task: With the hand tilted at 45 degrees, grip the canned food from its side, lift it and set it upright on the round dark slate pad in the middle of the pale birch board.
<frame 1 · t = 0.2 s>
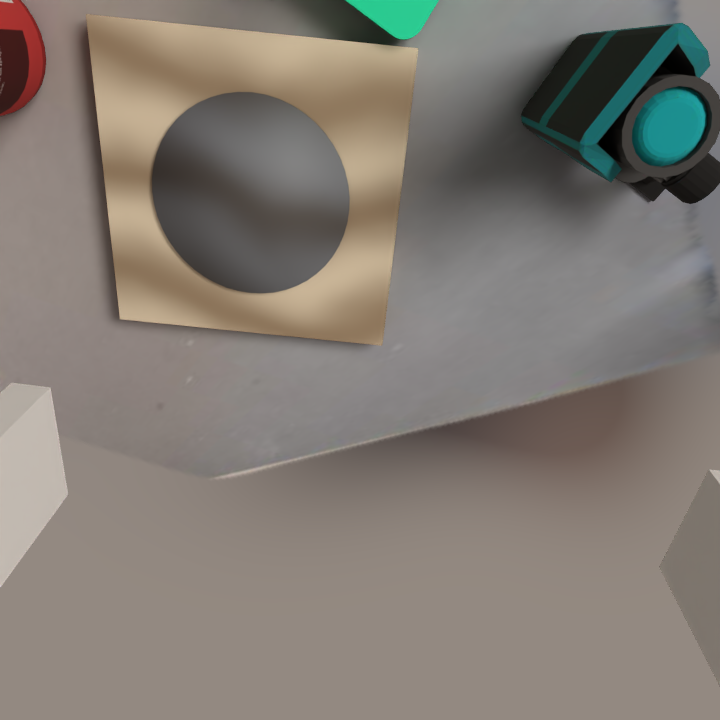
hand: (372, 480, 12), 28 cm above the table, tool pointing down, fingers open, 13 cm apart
surveillance camera: (611, 126, 34), on the table
junction board: (256, 194, 37), on the table
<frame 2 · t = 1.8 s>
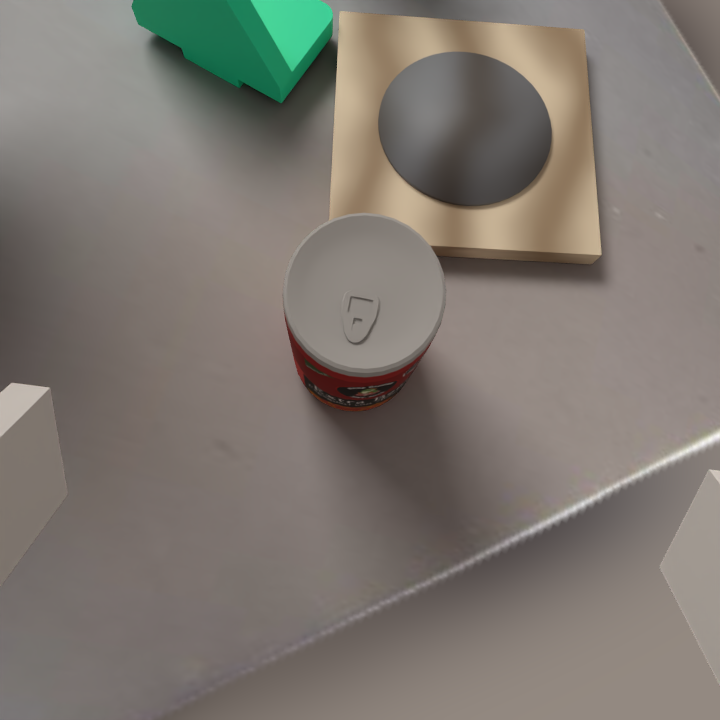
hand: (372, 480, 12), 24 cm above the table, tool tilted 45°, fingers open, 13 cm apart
junction board: (459, 140, 42), on the table
canned food: (353, 353, 38), on the table
camera mount: (241, 40, 43), on the table
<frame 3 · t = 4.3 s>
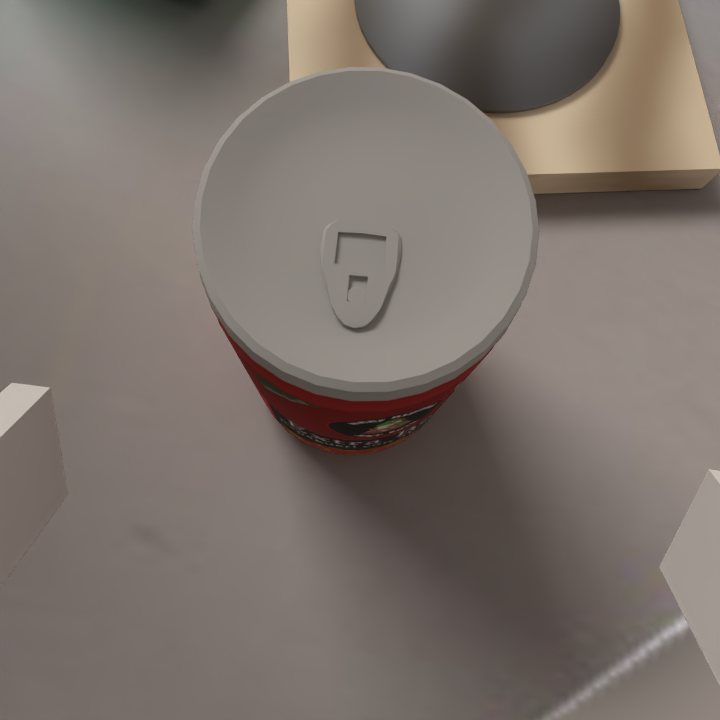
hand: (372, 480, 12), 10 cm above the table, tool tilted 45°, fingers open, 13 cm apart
junction board: (478, 28, 28), on the table
canned food: (352, 358, 23), on the table
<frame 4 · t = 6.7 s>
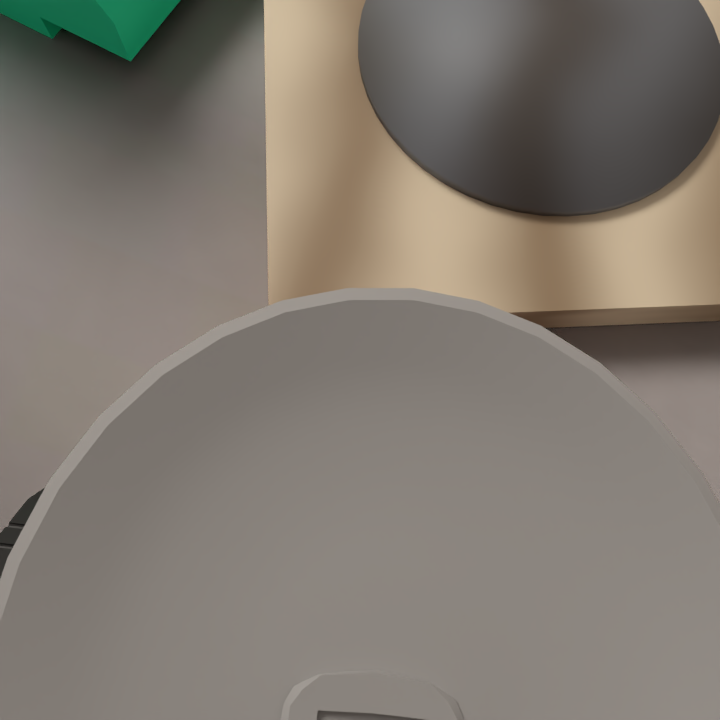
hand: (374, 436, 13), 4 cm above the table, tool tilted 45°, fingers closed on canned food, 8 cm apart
junction board: (525, 87, 21), on the table
canned food: (351, 581, 16), on the table, touching gripper
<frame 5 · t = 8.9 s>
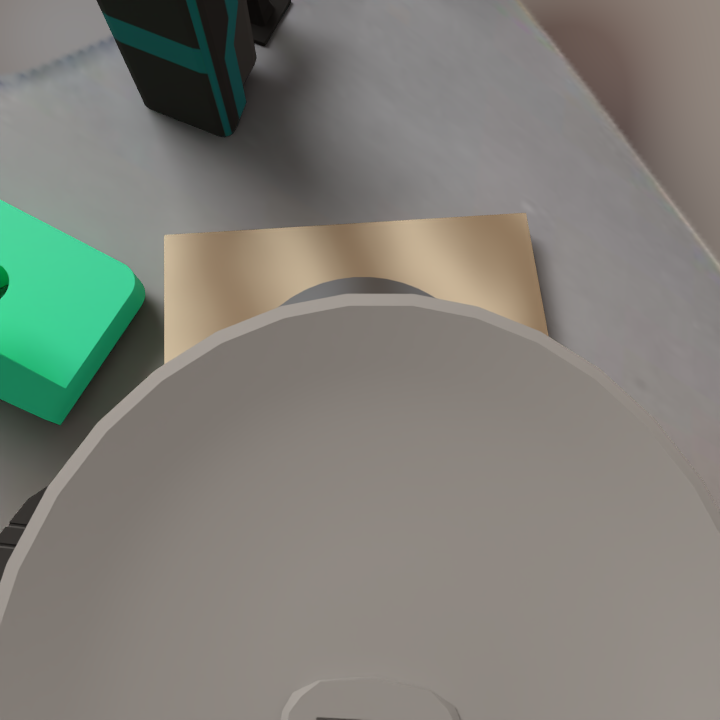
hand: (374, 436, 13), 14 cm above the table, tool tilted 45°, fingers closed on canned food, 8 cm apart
surveillance camera: (226, 57, 33), on the table
junction board: (363, 407, 28), on the table
canned food: (351, 583, 16), point 10 cm above the table, touching gripper
camera mount: (17, 306, 29), on the table
when the fingers open (7 cm above the table, at t = 11.1 s): canned food drops 2 cm, resting on junction board.
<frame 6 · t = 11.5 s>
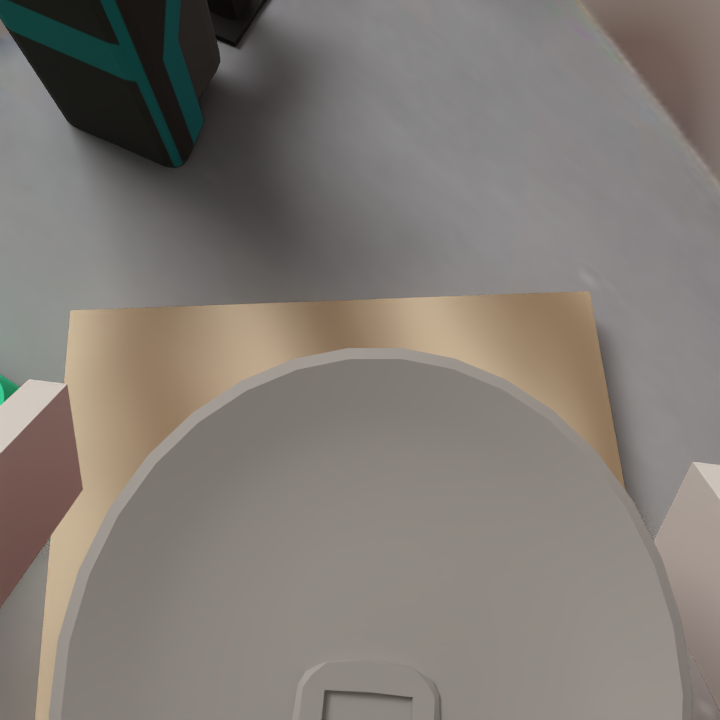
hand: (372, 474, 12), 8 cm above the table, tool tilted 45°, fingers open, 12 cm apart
surveillance camera: (183, 60, 25), on the table
junction board: (348, 572, 19), on the table
canned food: (348, 578, 18), point 2 cm above the table, touching junction board
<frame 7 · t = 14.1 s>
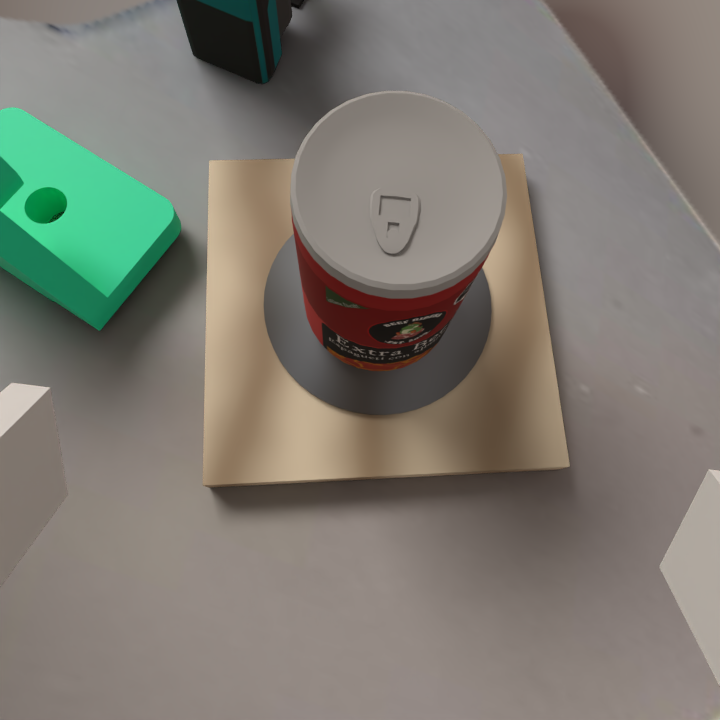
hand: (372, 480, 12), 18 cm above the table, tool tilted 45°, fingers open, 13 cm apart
surveillance camera: (264, 17, 38), on the table
junction board: (376, 313, 32), on the table
canned food: (377, 304, 31), point 2 cm above the table, touching junction board
camera mount: (69, 231, 33), on the table
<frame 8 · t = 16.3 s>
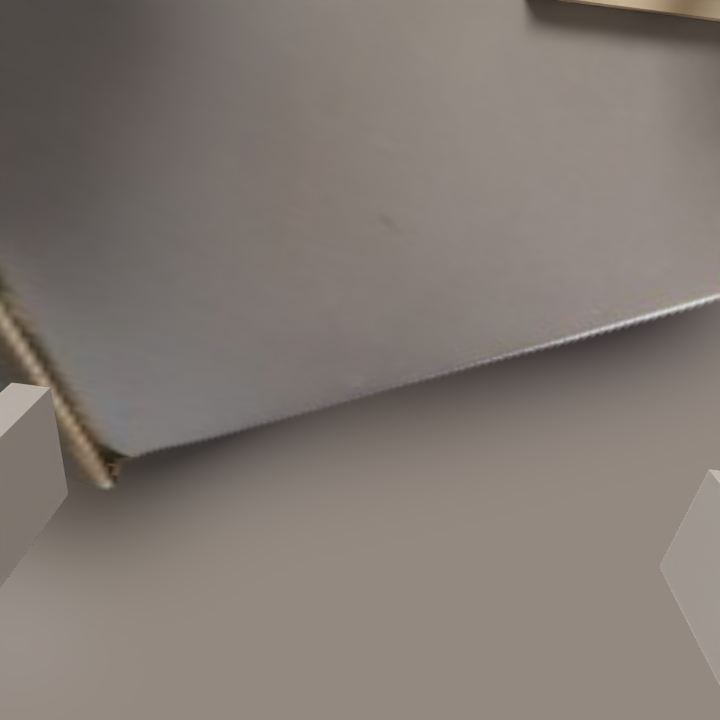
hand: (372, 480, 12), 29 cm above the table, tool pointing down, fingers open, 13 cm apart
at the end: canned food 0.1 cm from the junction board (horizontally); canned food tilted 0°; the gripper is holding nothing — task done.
